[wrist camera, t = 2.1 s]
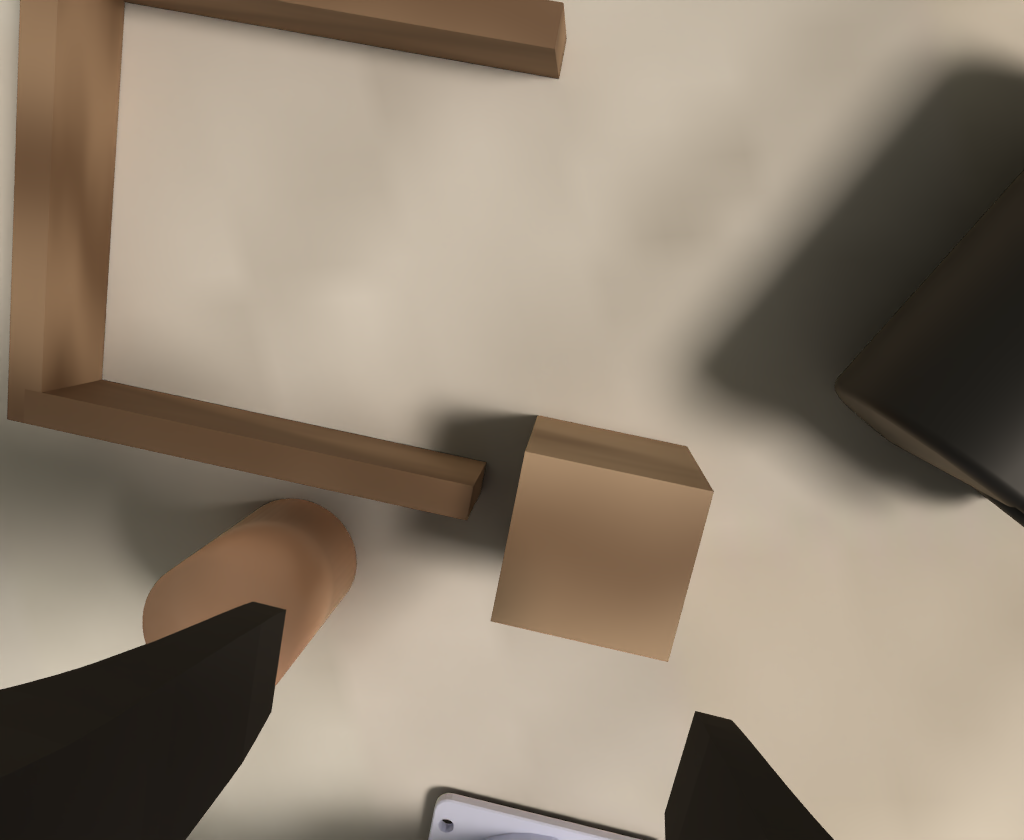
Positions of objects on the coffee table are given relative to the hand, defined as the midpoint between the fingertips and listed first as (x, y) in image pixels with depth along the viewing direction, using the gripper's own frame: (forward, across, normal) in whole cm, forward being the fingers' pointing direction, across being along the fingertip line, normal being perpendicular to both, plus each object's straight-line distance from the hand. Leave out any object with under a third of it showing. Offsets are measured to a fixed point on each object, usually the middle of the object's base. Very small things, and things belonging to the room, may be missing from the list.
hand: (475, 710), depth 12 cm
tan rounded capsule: (+10, +7, +3) cm, 13 cm away
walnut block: (+10, -2, -1) cm, 10 cm away
